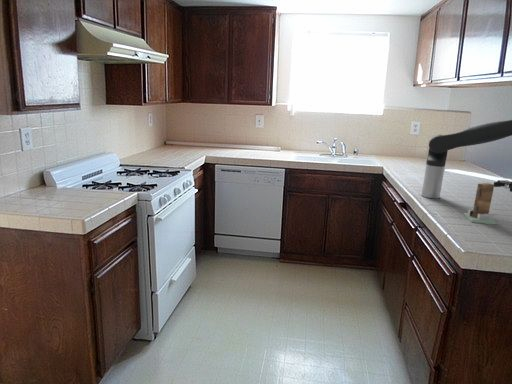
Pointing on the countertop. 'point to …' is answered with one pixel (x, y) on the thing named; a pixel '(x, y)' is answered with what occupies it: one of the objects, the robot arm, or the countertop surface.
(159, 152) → the countertop surface
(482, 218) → the hinge base
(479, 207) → the door
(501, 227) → the countertop surface
